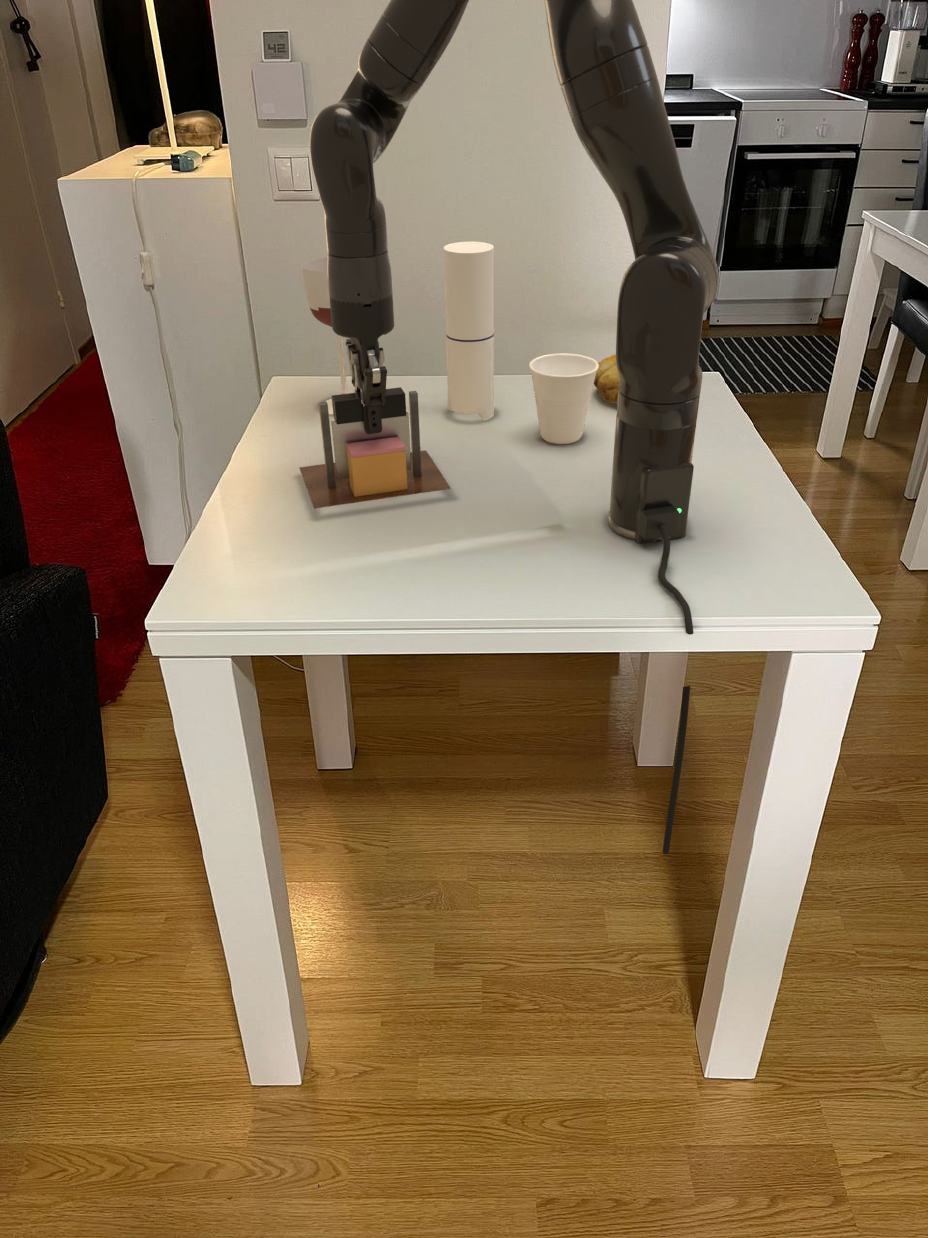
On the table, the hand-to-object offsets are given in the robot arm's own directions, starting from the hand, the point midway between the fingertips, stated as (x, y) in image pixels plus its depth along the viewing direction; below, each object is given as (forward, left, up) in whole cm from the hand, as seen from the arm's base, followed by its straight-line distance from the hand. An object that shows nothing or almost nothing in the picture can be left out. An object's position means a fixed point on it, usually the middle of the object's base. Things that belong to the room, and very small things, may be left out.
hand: (370, 427), depth 124 cm
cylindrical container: (+22, -20, -9) cm, 31 cm away
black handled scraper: (0, 0, -7) cm, 7 cm away
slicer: (+1, 0, -9) cm, 9 cm away
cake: (+1, 0, -7) cm, 8 cm away
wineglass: (+32, -2, -9) cm, 33 cm away
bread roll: (+20, -45, -9) cm, 50 cm away
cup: (+9, -30, -9) cm, 33 cm away
